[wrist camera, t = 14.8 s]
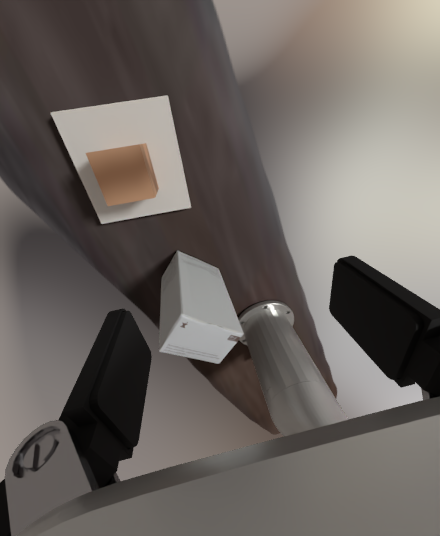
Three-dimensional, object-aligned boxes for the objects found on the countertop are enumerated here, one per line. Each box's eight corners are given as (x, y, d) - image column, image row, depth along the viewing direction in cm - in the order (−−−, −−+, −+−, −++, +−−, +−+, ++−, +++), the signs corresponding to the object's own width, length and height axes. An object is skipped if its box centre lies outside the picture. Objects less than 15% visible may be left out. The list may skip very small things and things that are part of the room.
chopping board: (190, 205, 30) (191, 207, 29) (104, 221, 29) (101, 224, 28) (168, 97, 23) (167, 95, 22) (56, 113, 23) (50, 112, 22)
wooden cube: (158, 188, 27) (155, 197, 23) (119, 195, 27) (107, 206, 22) (146, 143, 24) (139, 144, 20) (101, 150, 24) (85, 152, 20)
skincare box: (161, 276, 35) (151, 353, 23) (178, 247, 33) (177, 314, 20) (204, 293, 38) (217, 368, 26) (222, 268, 36) (246, 336, 24)
